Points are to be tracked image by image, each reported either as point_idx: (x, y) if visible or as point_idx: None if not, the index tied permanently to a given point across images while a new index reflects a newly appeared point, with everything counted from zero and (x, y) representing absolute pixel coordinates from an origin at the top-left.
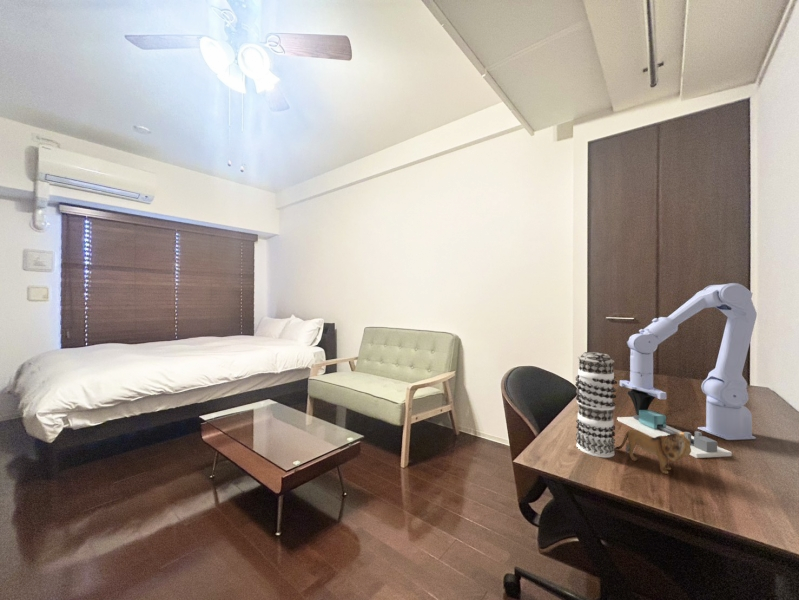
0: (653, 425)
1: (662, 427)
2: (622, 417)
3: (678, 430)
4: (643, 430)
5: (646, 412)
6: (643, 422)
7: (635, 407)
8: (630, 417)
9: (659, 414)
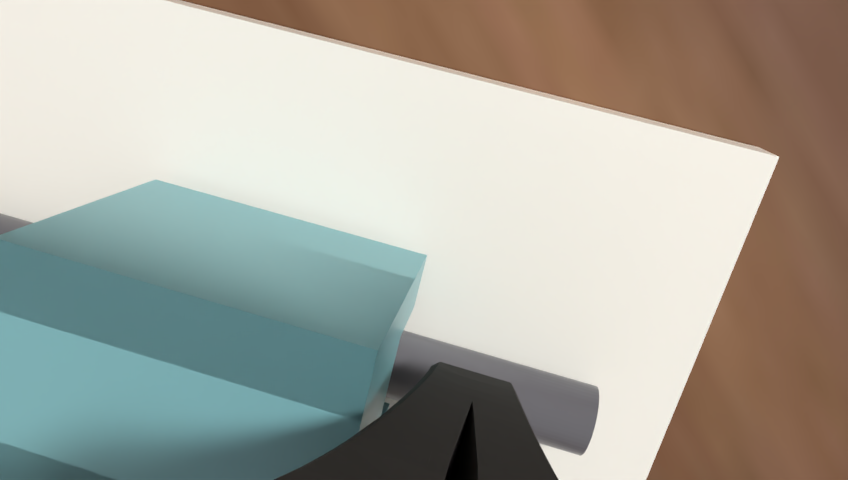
0: (134, 191)
1: None
2: (722, 253)
3: None
4: (213, 10)
5: (206, 335)
6: (328, 235)
7: (513, 443)
8: (651, 384)
9: (54, 451)
